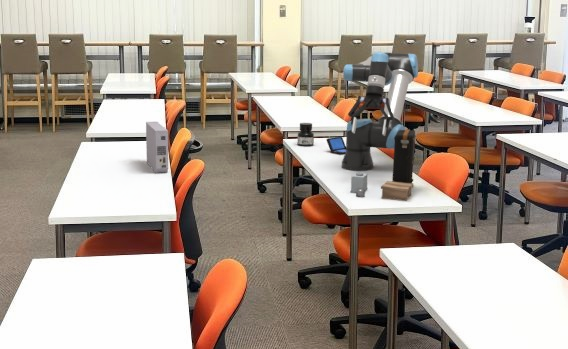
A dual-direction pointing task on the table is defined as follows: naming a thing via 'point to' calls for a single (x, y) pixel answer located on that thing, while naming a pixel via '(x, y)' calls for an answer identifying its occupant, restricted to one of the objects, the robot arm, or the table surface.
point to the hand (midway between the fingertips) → (368, 133)
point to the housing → (358, 182)
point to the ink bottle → (305, 135)
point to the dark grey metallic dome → (360, 192)
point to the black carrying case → (403, 156)
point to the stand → (396, 190)
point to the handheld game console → (336, 145)
